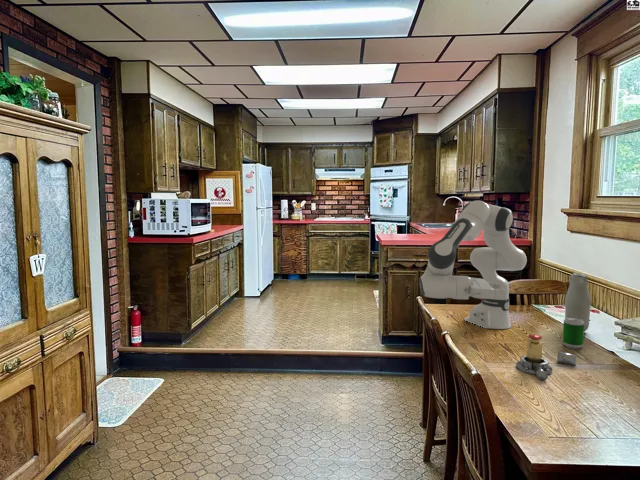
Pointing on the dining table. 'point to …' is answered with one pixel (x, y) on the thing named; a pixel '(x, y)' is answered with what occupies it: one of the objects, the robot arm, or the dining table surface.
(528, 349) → the red capped jar
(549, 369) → the flange fitting
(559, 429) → the dining table surface
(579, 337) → the soda can
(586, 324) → the grey bottle
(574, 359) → the block
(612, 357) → the dining table surface
